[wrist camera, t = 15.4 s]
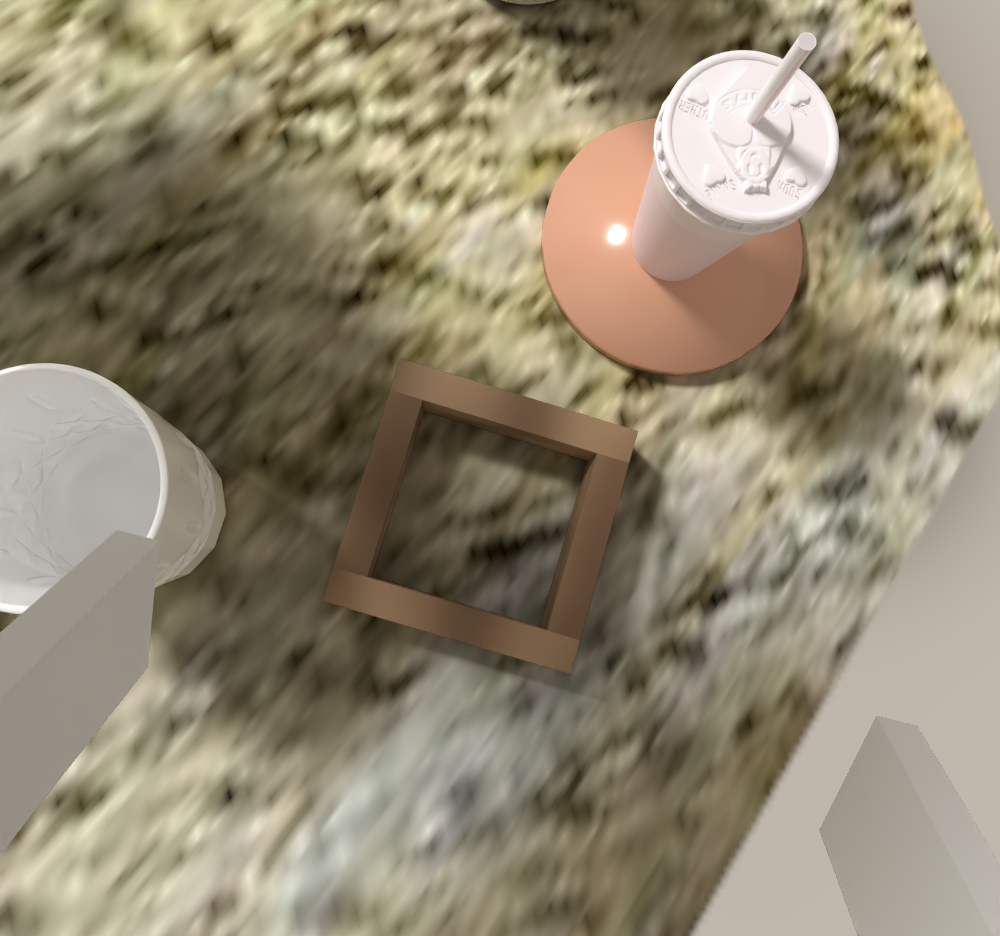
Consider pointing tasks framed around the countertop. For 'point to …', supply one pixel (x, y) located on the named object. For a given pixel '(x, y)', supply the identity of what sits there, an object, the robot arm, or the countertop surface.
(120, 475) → the white cup
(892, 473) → the countertop surface
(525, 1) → the travel mug
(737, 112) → the smoothie
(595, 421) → the brown square wooden frame
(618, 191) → the coaster
